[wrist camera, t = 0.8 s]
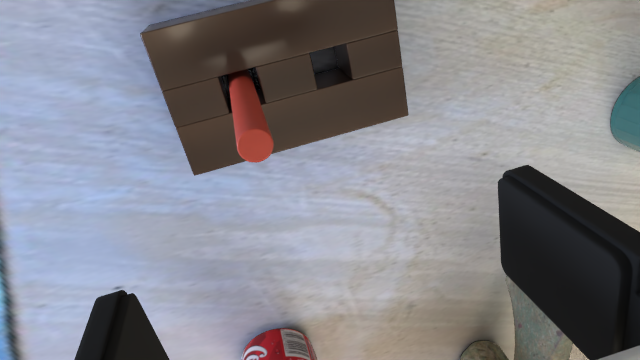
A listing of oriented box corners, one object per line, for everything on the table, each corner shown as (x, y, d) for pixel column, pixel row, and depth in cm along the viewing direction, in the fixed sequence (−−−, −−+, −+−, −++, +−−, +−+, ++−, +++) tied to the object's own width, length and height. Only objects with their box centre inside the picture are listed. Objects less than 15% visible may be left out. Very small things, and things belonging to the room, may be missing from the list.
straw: (224, 68, 32) (232, 134, 19) (247, 62, 32) (268, 124, 19) (231, 90, 32) (242, 167, 20) (253, 84, 33) (277, 157, 20)
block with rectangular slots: (148, 25, 30) (139, 33, 26) (370, -30, 31) (390, -30, 27) (196, 154, 34) (194, 175, 30) (389, 100, 35) (408, 115, 32)
